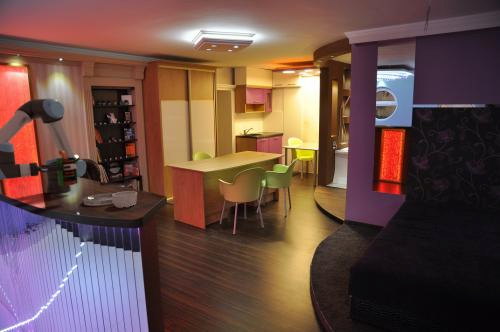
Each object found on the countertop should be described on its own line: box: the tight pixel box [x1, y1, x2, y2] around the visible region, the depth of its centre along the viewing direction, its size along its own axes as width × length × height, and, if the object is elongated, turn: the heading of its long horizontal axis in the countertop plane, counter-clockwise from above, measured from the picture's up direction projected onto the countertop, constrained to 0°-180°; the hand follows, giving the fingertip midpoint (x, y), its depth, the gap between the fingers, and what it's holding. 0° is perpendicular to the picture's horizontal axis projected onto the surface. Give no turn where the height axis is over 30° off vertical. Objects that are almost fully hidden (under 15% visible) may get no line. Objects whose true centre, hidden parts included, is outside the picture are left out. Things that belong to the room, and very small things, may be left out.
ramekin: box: [112, 190, 138, 209], centre depth 193 cm, size 13×13×7 cm
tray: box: [82, 193, 114, 207], centre depth 203 cm, size 20×20×3 cm
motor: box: [55, 151, 79, 186], centre depth 200 cm, size 10×9×20 cm
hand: (75, 165), depth 202 cm, fingers closed on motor, 7 cm apart
